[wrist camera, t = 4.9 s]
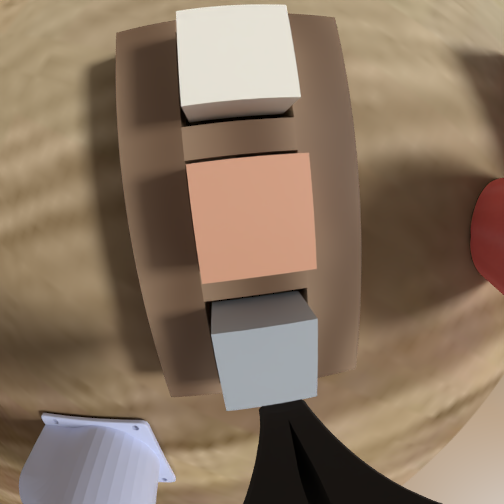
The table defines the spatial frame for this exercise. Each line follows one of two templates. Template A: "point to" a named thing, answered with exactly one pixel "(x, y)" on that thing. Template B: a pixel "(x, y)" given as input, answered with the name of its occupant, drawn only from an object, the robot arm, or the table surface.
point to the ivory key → (236, 61)
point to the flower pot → (489, 234)
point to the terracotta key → (253, 216)
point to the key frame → (228, 147)
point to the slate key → (265, 349)
